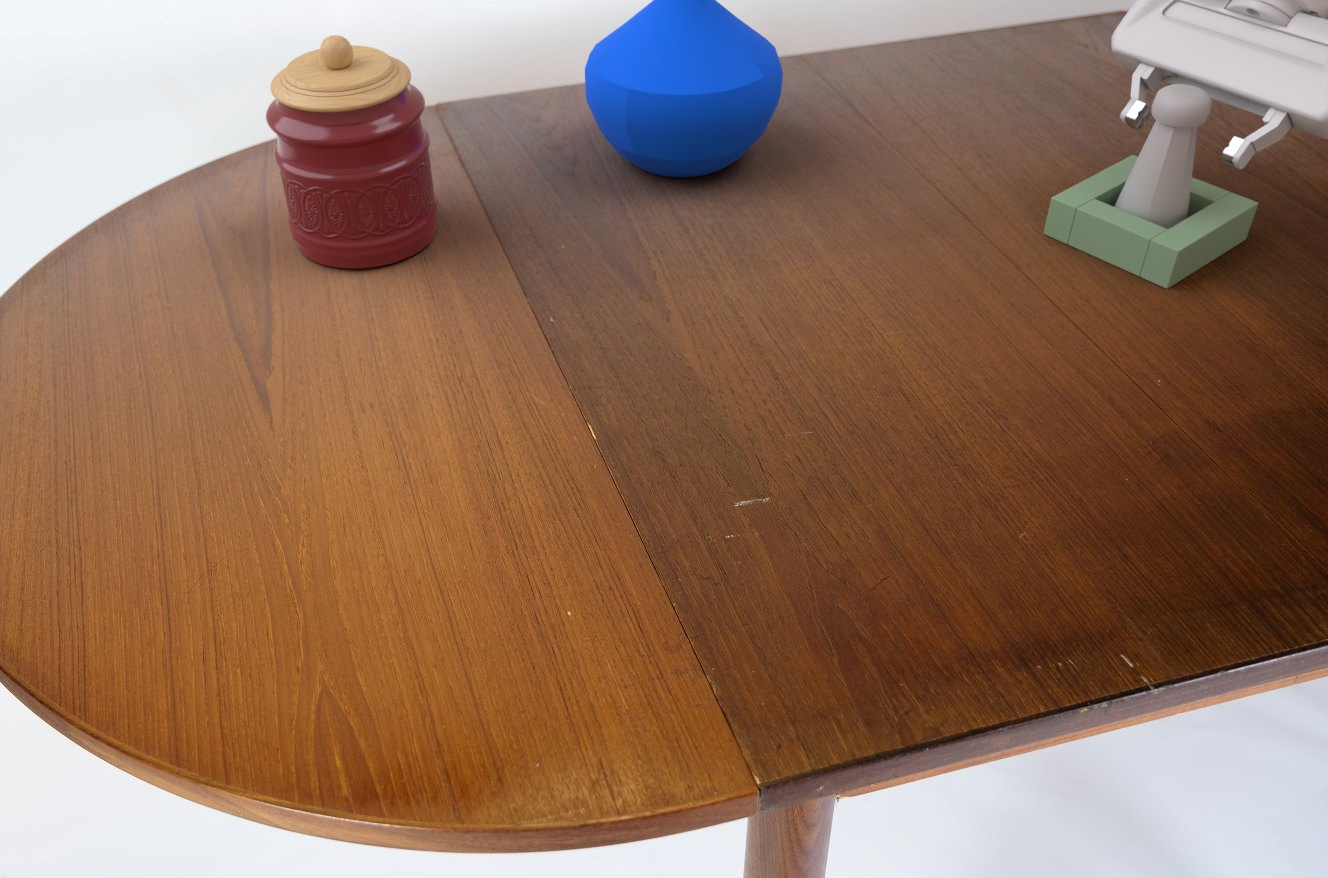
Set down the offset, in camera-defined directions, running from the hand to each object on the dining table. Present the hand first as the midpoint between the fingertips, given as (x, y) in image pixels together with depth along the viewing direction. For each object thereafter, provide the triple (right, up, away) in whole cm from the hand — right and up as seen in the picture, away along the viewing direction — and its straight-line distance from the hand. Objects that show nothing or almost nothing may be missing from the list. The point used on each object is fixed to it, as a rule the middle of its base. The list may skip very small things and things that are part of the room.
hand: (1178, 143), depth 101 cm
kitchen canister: (-68, -6, +9) cm, 68 cm away
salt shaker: (-1, -7, +6) cm, 9 cm away
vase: (-39, +4, +19) cm, 44 cm away
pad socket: (-1, -7, +5) cm, 9 cm away
